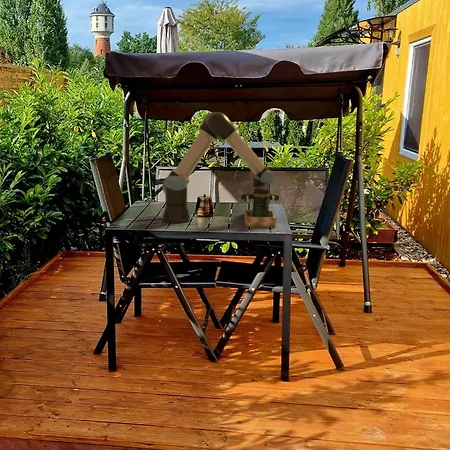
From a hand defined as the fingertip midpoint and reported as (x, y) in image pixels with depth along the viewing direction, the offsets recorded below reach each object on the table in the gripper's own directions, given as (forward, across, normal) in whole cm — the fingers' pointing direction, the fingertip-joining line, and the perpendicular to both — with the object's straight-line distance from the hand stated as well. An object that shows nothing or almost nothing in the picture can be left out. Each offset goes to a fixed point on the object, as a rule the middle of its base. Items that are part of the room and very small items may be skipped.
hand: (260, 199), depth 245 cm
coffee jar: (-3, 0, -12) cm, 13 cm away
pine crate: (-3, 0, -13) cm, 13 cm away
